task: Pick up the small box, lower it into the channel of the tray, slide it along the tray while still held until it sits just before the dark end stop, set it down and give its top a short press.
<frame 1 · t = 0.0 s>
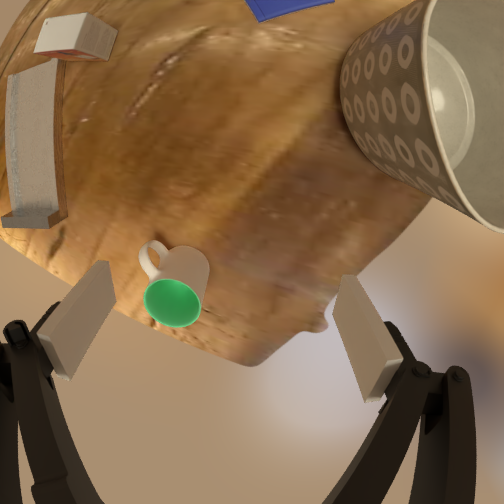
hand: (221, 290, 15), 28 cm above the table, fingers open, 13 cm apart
planter: (404, 102, 35), on the table
tray: (35, 141, 36), on the table
small box: (94, 46, 30), on the table
mug: (177, 258, 46), on the table
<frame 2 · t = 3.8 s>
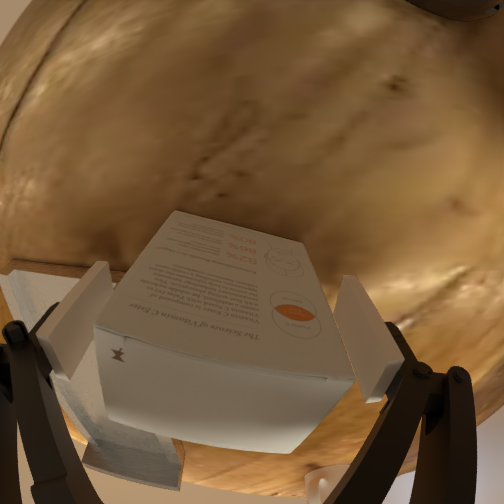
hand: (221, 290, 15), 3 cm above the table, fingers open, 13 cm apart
tray: (109, 387, 24), on the table
small box: (229, 263, 18), on the table
mug: (323, 470, 34), on the table
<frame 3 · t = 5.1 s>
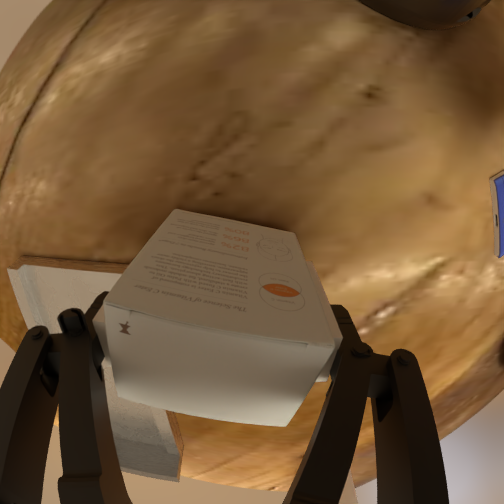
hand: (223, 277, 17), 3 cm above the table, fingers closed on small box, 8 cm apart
tray: (111, 378, 25), on the table
small box: (228, 255, 19), on the table, touching gripper
mug: (318, 461, 35), on the table
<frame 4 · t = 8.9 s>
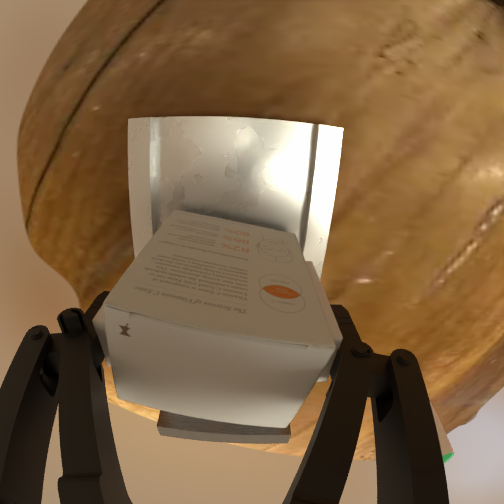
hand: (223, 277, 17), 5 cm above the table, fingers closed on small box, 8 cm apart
tray: (227, 298, 23), on the table
small box: (228, 256, 19), point 2 cm above the table, touching gripper
mug: (406, 411, 33), on the table
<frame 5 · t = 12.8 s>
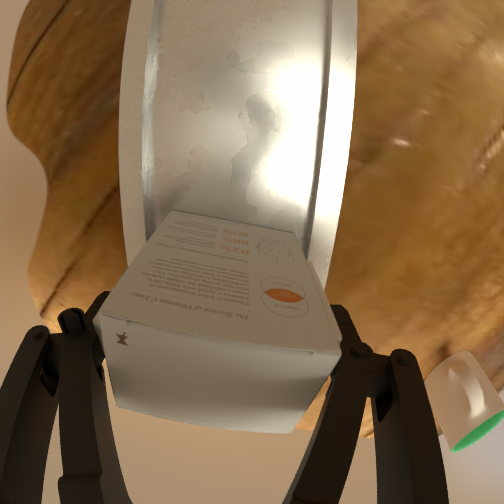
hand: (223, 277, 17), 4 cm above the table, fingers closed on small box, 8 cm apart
tray: (232, 153, 17), on the table
small box: (226, 257, 19), point 1 cm above the table, touching gripper, tray
mug: (446, 365, 27), on the table
when the fingers open (4 cm above the table, at t = 12.9 s): small box stays where it is, resting on tray.
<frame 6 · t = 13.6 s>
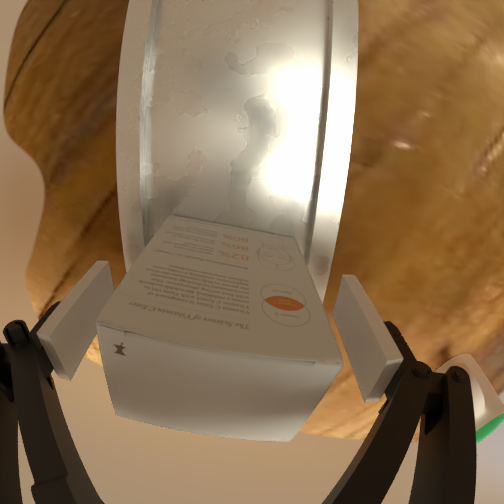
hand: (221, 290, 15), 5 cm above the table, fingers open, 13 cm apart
tray: (231, 156, 17), on the table
small box: (226, 262, 18), point 1 cm above the table, touching tray
mug: (446, 368, 27), on the table
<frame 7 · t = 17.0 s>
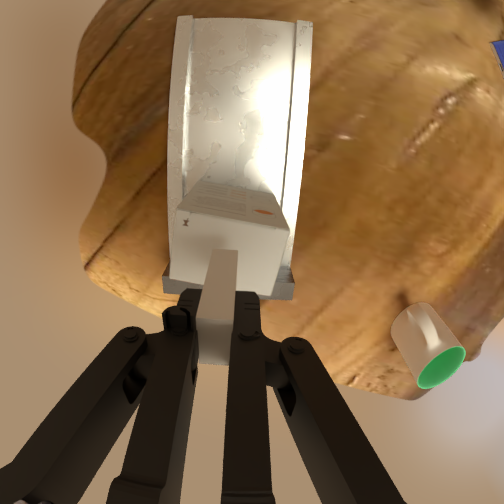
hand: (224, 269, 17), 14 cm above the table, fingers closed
tray: (235, 146, 28), on the table
small box: (232, 211, 29), point 1 cm above the table, touching tray
mug: (408, 315, 38), on the table
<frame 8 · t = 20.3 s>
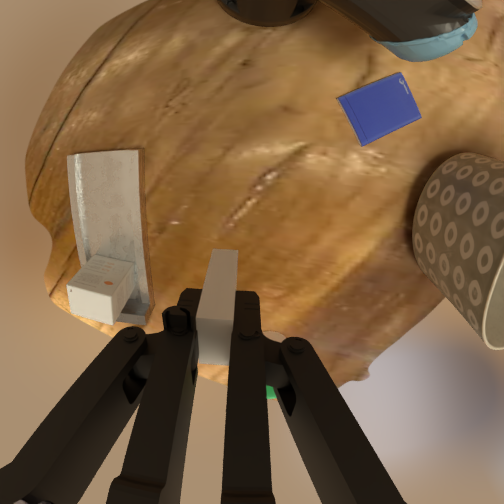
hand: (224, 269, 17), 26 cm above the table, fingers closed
planter: (452, 214, 44), on the table
hard drive: (378, 107, 37), on the table
tray: (112, 233, 44), on the table
small box: (114, 271, 46), point 1 cm above the table, touching tray
mug: (262, 339, 54), on the table
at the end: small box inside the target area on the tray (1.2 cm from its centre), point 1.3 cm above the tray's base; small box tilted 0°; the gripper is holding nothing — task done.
